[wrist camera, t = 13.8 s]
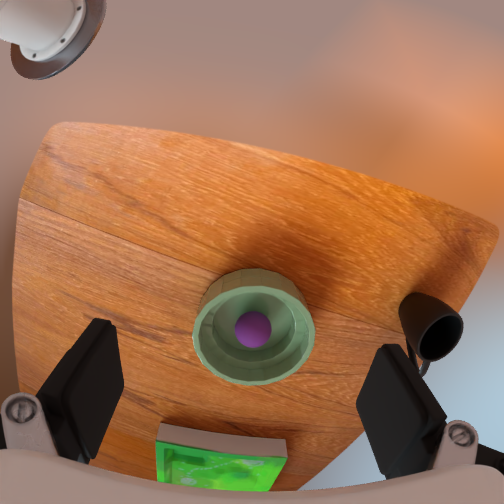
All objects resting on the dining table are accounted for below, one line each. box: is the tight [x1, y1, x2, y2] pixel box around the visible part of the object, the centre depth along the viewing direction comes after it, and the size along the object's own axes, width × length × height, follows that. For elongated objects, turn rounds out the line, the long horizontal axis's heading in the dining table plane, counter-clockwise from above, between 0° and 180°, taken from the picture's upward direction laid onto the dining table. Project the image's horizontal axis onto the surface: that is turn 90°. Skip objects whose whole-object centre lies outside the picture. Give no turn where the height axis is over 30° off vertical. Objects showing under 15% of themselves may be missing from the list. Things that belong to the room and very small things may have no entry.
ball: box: [235, 311, 272, 348], centre depth 41 cm, size 5×5×5 cm
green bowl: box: [192, 268, 315, 385], centre depth 41 cm, size 16×16×6 cm
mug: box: [399, 292, 463, 377], centre depth 40 cm, size 8×12×10 cm
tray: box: [156, 423, 288, 492], centre depth 54 cm, size 25×25×5 cm
